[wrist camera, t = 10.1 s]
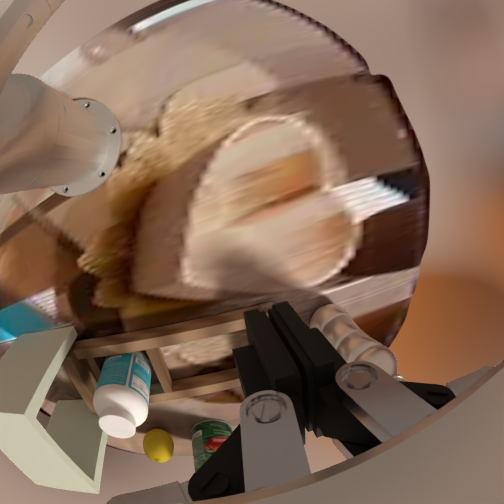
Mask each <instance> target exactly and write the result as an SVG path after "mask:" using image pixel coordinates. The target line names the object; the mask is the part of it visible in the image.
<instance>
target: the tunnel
mask: <svg viewBox="0 0 504 504" xmlns="http://www.w3.org/2000/svg"><path fill="white" fill-rule="evenodd" d="M76 337H77V332H76V330H75V328H74V326H71V327H65V328H59V329H52V330H46V331H39V332H33V333H26V334H20V335H19V336H18V337H17V339H16V340H15V341H14V342H13V344H12V345H11V346H10V347H9V348H8V350H7V351H6V352H5V354H4V355H3V356H2V357H1V359H0V449H1V450H2V451H3V453H4V454H5V455H6V456H7V457H9V459H10V460H11V461H12V462H13V463H14V464H15V465H16V466H17V467H18V468H19V469H20V470H21V471H22V472H23V473H25V475H27V476H28V477H29V478H30V479H31V480H32V481H33V482H34V483H36V484H38V485H43V486H48V487H53V488H58V489H64V490H71V491H79V492H87V493H99V489H100V481H101V474H102V466H103V460H104V453H105V448H106V442H107V436H108V434H107V433H105V432H104V431H103V430H102V429H101V428H100V426H99V415H98V414H96V415H93V413H92V412H91V410H90V409H89V407H88V406H87V404H86V403H85V401H84V400H83V399H81V400H58V401H57V403H56V406H55V408H54V411H53V413H52V416H51V418H50V421H49V423H48V426H47V429H46V430H45V429H44V428H43V427H42V426H41V424H40V423H39V422H38V420H37V419H36V416H37V414H38V411H39V409H40V407H41V405H42V403H43V401H44V398H45V396H46V394H47V392H48V390H49V388H50V386H51V384H52V382H53V380H54V378H55V376H56V374H57V372H58V370H59V368H60V366H61V364H62V363H63V361H64V359H65V357H66V355H67V353H68V351H69V350H70V348H71V346H72V344H73V342H74V341H75V339H76Z"/></svg>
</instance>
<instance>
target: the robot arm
mask: <svg viewBox="0 0 504 504" xmlns="http://www.w3.org/2000/svg"><path fill="white" fill-rule="evenodd" d="M64 1H65V0H0V195H1V194H7V193H13V192H18V191H25V190H31V189H38V188H45V187H49V188H50V189H51V190H52V191H54V192H56V193H58V194H60V195H64V196H80V195H84V194H87V193H90V192H91V191H93V190H95V189H97V188H98V187H99V186H101V185H102V184H103V183H104V182H105V181H106V180H107V179H108V178H109V176H110V175H111V173H112V172H113V170H114V169H115V167H116V164H117V162H118V160H119V156H120V152H121V145H122V136H121V129H120V126H119V123H118V121H117V119H116V117H115V115H114V114H113V113H112V112H111V110H110V109H108V108H107V107H106V106H105V105H103V104H101V103H99V102H97V101H94V100H87V99H82V100H75V101H73V100H72V99H70V98H68V97H67V96H65V95H64V94H62V93H60V92H59V91H57V90H56V89H54V88H52V87H51V86H49V85H47V84H46V83H44V82H43V81H41V80H39V79H37V78H35V77H33V76H30V75H25V74H11V73H12V71H13V69H14V68H15V66H16V64H17V63H18V61H19V60H20V58H21V57H22V55H23V54H24V52H25V51H26V49H27V48H28V46H29V45H30V44H31V42H32V41H33V39H34V38H35V36H36V35H37V34H38V33H39V31H40V30H41V29H42V27H43V26H44V25H45V24H46V22H47V21H48V20H49V18H50V17H51V16H52V15H53V14H54V13H55V11H56V10H57V9H58V8H59V7H60V5H61V4H62V3H63V2H64ZM88 105H90V106H89V107H88V108H87V106H88ZM114 130H116V133H113V131H114ZM103 172H104V173H105V176H102V173H103ZM67 188H68V191H67ZM243 315H244V320H245V326H246V331H247V336H248V341H249V345H248V346H244V347H240V348H236V349H232V351H233V356H234V360H235V364H236V368H237V372H238V376H239V379H240V383H241V386H242V390H243V393H244V396H245V400H244V401H243V403H242V405H241V406H240V424H239V425H238V427H237V428H236V429H235V430H234V431H233V432H232V433H231V435H230V436H229V437H228V438H227V439H226V440H225V441H224V442H223V444H222V445H221V446H220V447H219V448H218V449H217V450H216V451H215V452H214V453H213V454H212V456H211V457H210V458H209V459H208V460H207V461H206V462H205V463H204V464H203V465H202V466H201V467H200V468H199V469H198V470H197V471H196V472H195V473H194V474H193V476H192V477H191V479H190V480H189V481H186V482H183V483H178V482H177V481H176V482H172V483H169V484H165V485H161V486H157V487H154V488H150V489H145V490H141V491H136V492H132V493H127V494H122V495H118V496H115V497H113V498H112V499H110V500H109V501H108V502H107V504H504V360H503V361H501V362H500V363H499V364H497V365H496V366H495V367H494V366H485V367H482V368H480V369H478V370H476V371H474V372H472V373H469V374H467V375H465V376H462V377H460V378H458V379H455V380H453V381H450V382H448V383H447V384H446V386H442V385H437V384H425V383H415V382H405V381H397V380H396V379H394V378H393V377H392V376H390V375H389V374H388V373H386V372H385V371H384V370H382V369H381V368H380V367H378V366H377V365H375V364H373V363H371V362H367V361H354V362H350V363H347V362H346V361H345V360H344V359H343V357H342V356H341V355H340V354H339V353H338V351H337V350H336V349H335V348H334V347H333V346H332V344H331V343H330V342H329V341H328V340H327V339H326V337H325V336H324V335H323V334H322V333H321V332H320V330H319V329H318V328H316V327H314V328H311V329H309V328H308V327H307V326H306V324H305V323H304V322H303V321H302V319H301V318H300V317H299V316H298V314H297V313H296V312H295V311H294V309H293V308H292V307H291V306H290V304H289V303H288V302H287V301H285V302H281V303H277V304H273V305H272V309H268V316H267V314H266V313H265V311H259V309H258V308H257V309H253V310H248V311H244V312H243ZM268 317H269V318H268ZM305 428H306V429H307V431H308V432H309V431H312V430H313V432H314V433H315V435H316V437H319V436H322V435H323V436H325V437H329V438H332V441H333V443H334V445H335V446H336V447H337V448H338V449H339V451H340V452H341V453H342V454H343V455H344V456H345V457H346V459H347V460H346V461H343V462H341V463H339V464H336V465H334V466H331V467H329V468H326V469H324V470H321V471H318V472H315V473H313V474H311V471H310V467H309V464H308V460H307V456H306V452H305V449H304V444H305Z"/></svg>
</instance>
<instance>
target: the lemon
mask: <svg viewBox="0 0 504 504" xmlns="http://www.w3.org/2000/svg"><path fill="white" fill-rule="evenodd" d="M143 448H144V451H145V454H146V455H147V457H148V458H149V459H151V460H152V461H155V462H158V463H161V462H165V461H167V460H169V459H170V458H171V456H172V454H173V450H174V443H173V440H172V438H171V436H170V435H169V434H168V433H167V432H166V431H164V430H161V429H152V430H150V431H149V432H147V433H146V435H145V437H144V440H143Z"/></svg>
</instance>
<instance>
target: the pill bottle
mask: <svg viewBox="0 0 504 504" xmlns="http://www.w3.org/2000/svg"><path fill="white" fill-rule="evenodd" d="M150 381H151V364H150V361H149V360H148V358H147V357H146V356H145V355H144V354H143V353H142V352H141V351H135V352H129V353H123V354H116V355H109V356H106V359H105V362H104V365H103V368H102V371H101V374H100V377H99V380H98V384H97V387H96V390H95V394H94V397H93V406H94V409H95V411H96V413H97V414H98V415H99V426H100V428H101V429H102V430H103V431H104V432H105V433H107V434H109V435H111V436H113V437H117V438H129V437H131V436H133V435H134V434H135V431H136V427H137V426H139V425H141V424H142V423H143V422H144V421H145V420H146V418H147V415H148V406H149V393H150Z"/></svg>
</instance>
